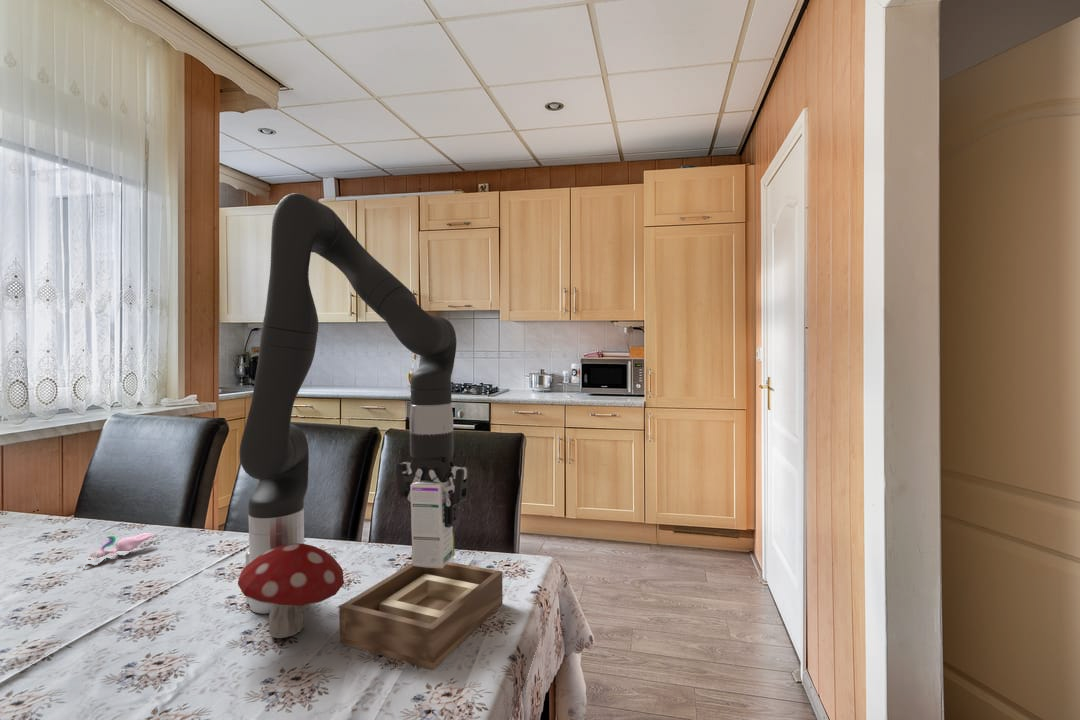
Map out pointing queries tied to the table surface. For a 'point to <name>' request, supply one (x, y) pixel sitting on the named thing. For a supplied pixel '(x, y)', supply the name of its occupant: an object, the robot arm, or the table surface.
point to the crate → (421, 612)
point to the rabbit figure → (121, 544)
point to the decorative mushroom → (290, 583)
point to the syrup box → (430, 526)
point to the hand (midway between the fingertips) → (433, 523)
